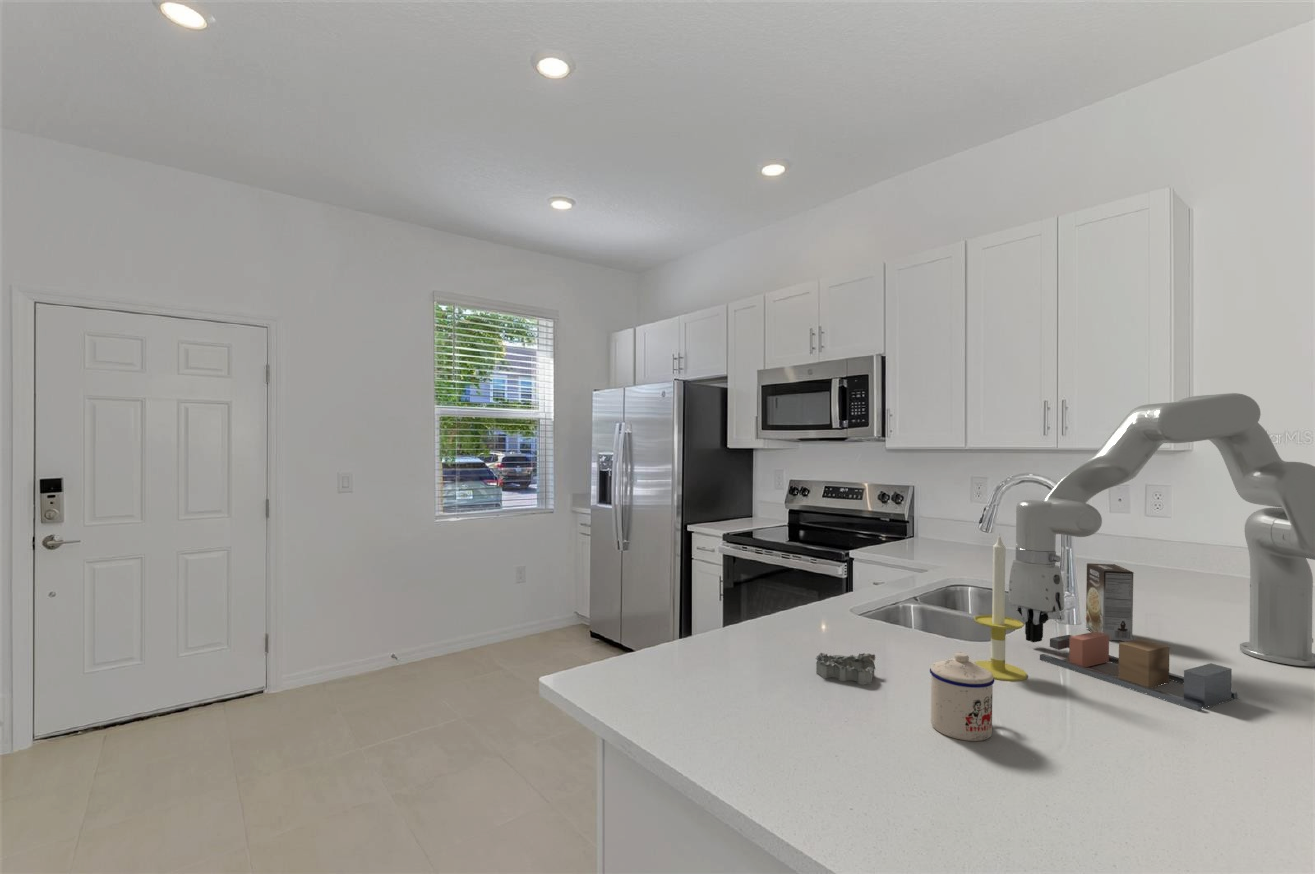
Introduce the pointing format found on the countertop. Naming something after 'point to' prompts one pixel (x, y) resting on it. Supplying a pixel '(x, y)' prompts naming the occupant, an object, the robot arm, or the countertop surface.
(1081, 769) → the countertop surface
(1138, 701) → the countertop surface
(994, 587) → the candle
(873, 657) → the egg carton
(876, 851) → the countertop surface
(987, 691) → the teacup with lid
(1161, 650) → the block
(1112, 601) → the coffee box
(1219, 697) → the vise bed
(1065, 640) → the block
